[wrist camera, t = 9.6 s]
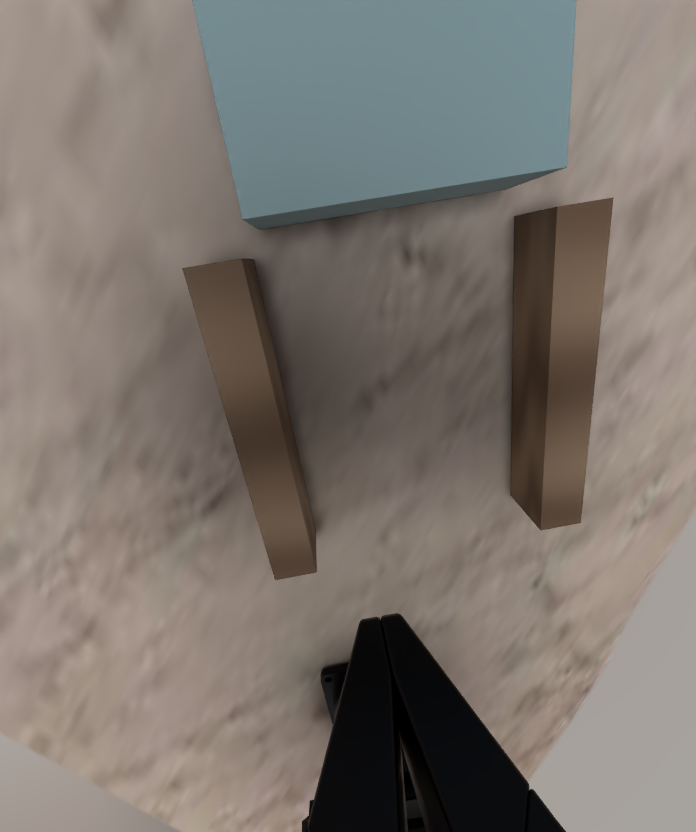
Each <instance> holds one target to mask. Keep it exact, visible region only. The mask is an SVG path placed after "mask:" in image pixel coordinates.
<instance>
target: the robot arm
mask: <svg viewBox="0 0 696 832" xmlns="http://www.w3.org/2000/svg"><path fill="white" fill-rule="evenodd" d="M321 683H322V687H323V691H324V694H325V698H326V702H327V705H328V709H329V713H330V716H331V720H332V723H333V727H332V731H331V735H330V739H329V743H328V747H327V751H326V755H325V759H324V763H323V767H322V771H321V774H320V778H319V782H318V786H317V790H316V794H315V798H314V800H310V807H309V816H308V817H307V818H306V819H304V820H303V821H302V832H566V831H565V830H564V829H563V827H562V826H561V825H560V824H559V822H558V821H557V820H556V819H555V817H554V816H553V815H552V813H551V812H550V811H549V809H548V808H547V807H546V805H545V804H544V803H543V801H542V800H541V799H540V798H539V796H538V795H537V794H536V792H535V791H534V790H533V789H530V790H529V783H528V782H527V781H526V779H525V778H524V777H523V775H522V774H521V773H520V771H519V770H518V769H517V767H516V766H515V765H514V763H513V762H512V761H511V759H510V758H509V757H508V756H507V754H506V753H505V752H504V750H503V749H502V748H501V746H500V745H499V744H498V742H497V741H496V740H495V738H494V737H493V736H492V734H491V733H490V732H489V730H488V729H487V728H486V726H485V725H484V724H483V722H482V721H481V720H480V718H479V717H478V716H477V714H476V713H475V712H474V711H473V709H472V708H471V707H470V705H469V704H468V703H467V701H466V700H465V699H464V697H463V696H462V695H461V693H460V692H459V691H458V689H457V688H456V687H455V685H454V684H453V683H452V681H451V680H450V679H449V677H448V676H447V675H446V673H445V672H444V671H443V669H442V668H441V667H440V666H439V664H438V663H437V662H436V660H435V659H434V658H433V656H432V655H431V654H430V652H429V651H428V650H427V648H426V647H425V646H424V644H423V643H422V642H421V640H420V639H419V638H418V636H417V635H416V634H415V632H414V631H413V630H412V628H411V627H410V626H409V625H408V623H407V622H406V621H405V619H404V618H403V617H402V616H401V615H400V614H398V613H396V614H390V615H384V616H382V617H381V621H380V619H379V618H378V617H373V618H367V619H362V620H361V621H360V623H359V626H358V630H357V633H356V637H355V641H354V645H353V649H352V653H351V657H350V661H349V665H343V666H338V667H333V668H328V669H325V670H323V671H322V672H321Z"/></svg>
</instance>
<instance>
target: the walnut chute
mask: <svg viewBox="0 0 696 832" xmlns="http://www.w3.org/2000/svg"><path fill="white" fill-rule="evenodd" d="M612 205H613V198H609V199H602V200H596V201H590V202H584V203H578V204H572V205H566V206H560V207H555V208H550V209H545V210H541V211H536V212H532V213H527V214H523V215H518V216H515V226H514V298H513V370H512V442H511V496H512V498H513V499H514V500H515V501H516V502H517V503H518V505H519V506H520V507H521V508H522V509H523V510H524V512H525V513H526V514H527V515H528V516H529V517H530V519H531V520H532V521H533V522H534V523H535V524H536V526H537V527H538V528H539V529H540V530H545V529H551V528H556V527H561V526H567V525H572V524H577V523H581V514H582V504H583V494H584V484H585V474H586V464H587V454H588V444H589V434H590V424H591V414H592V404H593V394H594V384H595V374H596V365H597V355H598V345H599V335H600V325H601V315H602V305H603V295H604V285H605V275H606V265H607V255H608V245H609V235H610V225H611V215H612ZM182 269H183V272H184V275H185V279H186V282H187V285H188V289H189V292H190V296H191V299H192V302H193V306H194V309H195V312H196V316H197V319H198V322H199V326H200V329H201V333H202V336H203V339H204V343H205V346H206V349H207V353H208V356H209V359H210V363H211V366H212V369H213V373H214V376H215V380H216V383H217V386H218V390H219V393H220V396H221V400H222V403H223V406H224V410H225V413H226V417H227V420H228V423H229V427H230V430H231V433H232V437H233V440H234V443H235V447H236V450H237V453H238V457H239V460H240V464H241V467H242V470H243V474H244V477H245V480H246V484H247V487H248V490H249V494H250V497H251V501H252V504H253V507H254V511H255V514H256V517H257V521H258V524H259V527H260V531H261V534H262V537H263V541H264V544H265V548H266V551H267V554H268V558H269V561H270V564H271V568H272V571H273V574H274V578H275V580H278V579H284V578H289V577H294V576H300V575H305V574H310V573H316V572H317V564H316V530H315V526H314V521H313V517H312V513H311V508H310V504H309V499H308V495H307V491H306V486H305V482H304V478H303V473H302V469H301V464H300V460H299V456H298V451H297V447H296V443H295V438H294V434H293V430H292V425H291V421H290V416H289V412H288V408H287V403H286V399H285V395H284V390H283V386H282V381H281V377H280V373H279V368H278V364H277V360H276V355H275V351H274V346H273V342H272V338H271V333H270V329H269V325H268V320H267V316H266V312H265V307H264V303H263V298H262V294H261V290H260V285H259V281H258V277H257V272H256V268H255V263H254V259H236V260H230V261H224V262H218V263H212V264H206V265H200V266H194V267H188V268H182Z"/></svg>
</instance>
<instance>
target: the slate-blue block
mask: <svg viewBox="0 0 696 832" xmlns="http://www.w3.org/2000/svg"><path fill="white" fill-rule="evenodd" d="M192 2H193V6H194V10H195V15H196V19H197V23H198V28H199V32H200V36H201V41H202V45H203V49H204V54H205V58H206V62H207V67H208V71H209V75H210V80H211V84H212V88H213V93H214V97H215V101H216V106H217V110H218V115H219V119H220V123H221V128H222V132H223V136H224V141H225V145H226V149H227V154H228V158H229V162H230V167H231V171H232V175H233V180H234V184H235V188H236V193H237V197H238V201H239V206H240V210H241V214H242V219H243V220H244V221H246V222H248V223H249V224H251V225H253V226H254V227H256V228H257V229H266V228H272V227H278V226H284V225H290V224H296V223H303V222H309V221H315V220H321V219H327V218H333V217H340V216H346V215H352V214H358V213H364V212H370V211H377V210H383V209H389V208H395V207H401V206H408V205H414V204H420V203H426V202H432V201H438V200H445V199H451V198H457V197H463V196H469V195H475V194H482V193H488V192H494V191H500V190H506V189H509V188H511V187H514V186H517V185H519V184H522V183H525V182H528V181H530V180H533V179H536V178H539V177H541V176H544V175H547V174H549V173H552V172H555V171H558V170H560V169H563V168H566V167H567V154H568V137H569V120H570V102H571V85H572V68H573V51H574V33H575V16H576V0H192Z"/></svg>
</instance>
